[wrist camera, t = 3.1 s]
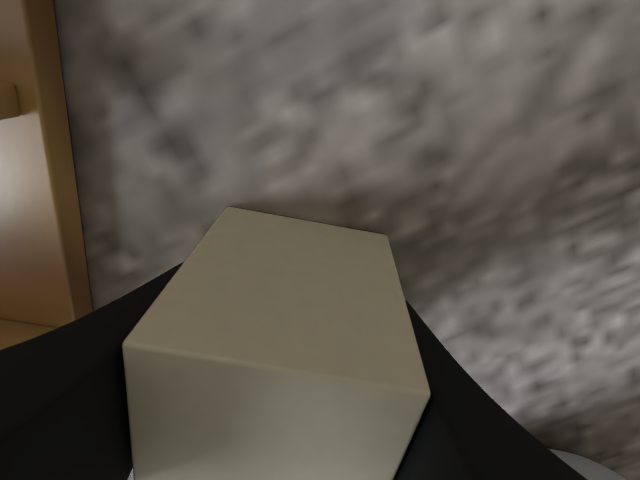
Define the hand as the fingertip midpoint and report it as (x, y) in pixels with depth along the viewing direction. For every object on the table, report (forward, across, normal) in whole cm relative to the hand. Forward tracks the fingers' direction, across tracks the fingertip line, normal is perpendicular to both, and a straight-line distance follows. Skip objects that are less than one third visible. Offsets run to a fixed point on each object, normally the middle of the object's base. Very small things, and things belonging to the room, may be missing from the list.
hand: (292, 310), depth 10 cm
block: (+2, 0, 0) cm, 2 cm away
